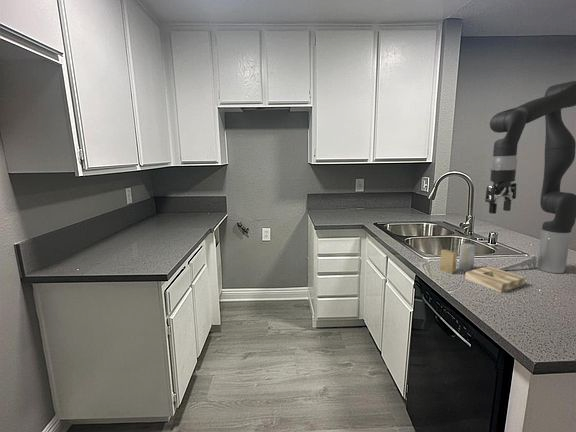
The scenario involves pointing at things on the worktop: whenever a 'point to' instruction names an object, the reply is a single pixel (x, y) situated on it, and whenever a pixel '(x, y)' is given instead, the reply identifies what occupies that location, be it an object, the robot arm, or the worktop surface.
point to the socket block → (495, 278)
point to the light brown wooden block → (448, 261)
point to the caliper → (521, 263)
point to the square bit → (466, 257)
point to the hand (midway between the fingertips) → (499, 212)
